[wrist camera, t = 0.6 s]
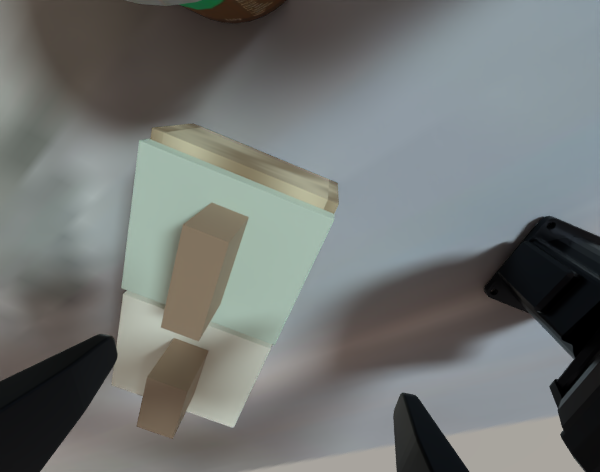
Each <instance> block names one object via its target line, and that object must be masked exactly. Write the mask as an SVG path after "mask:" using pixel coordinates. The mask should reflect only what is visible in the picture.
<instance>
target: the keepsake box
mask: <svg viewBox="0 0 600 472" xmlns="http://www.w3.org/2000/svg"><path fill="white" fill-rule="evenodd" d="M151 140H153V141H156V142H158V143H161V144H163V145H166V146H168V147H171V148H173V149H176V150H178V151H180V152H183V153H185V154H188V155H190V156H193V157H195V158H198V159H200V160H203V161H205V162H208V163H210V164H212V165H215V166H217V167H220V168H222V169H225V170H227V171H230V172H232V173H235V174H237V175H240V176H242V177H245V178H247V179H249V180H252V181H254V182H257V183H259V184H262V185H264V186H267V187H269V188H272V189H274V190H277V191H279V192H281V193H284V194H286V195H289V196H291V197H294V198H296V199H299V200H301V201H304V202H306V203H309V204H311V205H313V206H316V207H318V208H321V209H323V210H326V211H328V212H331V213H333V214H334V213H335V211H336V209H337V207H338V204H339V200H338V183H336V182H334V181H331V180H329V179H326V178H324V177H322V176H319V175H317V174H314V173H312V172H309V171H307V170H305V169H302V168H300V167H297V166H295V165H292V164H290V163H288V162H285V161H283V160H280V159H278V158H275V157H273V156H271V155H268V154H266V153H263V152H261V151H259V150H256V149H254V148H251V147H249V146H246V145H244V144H242V143H239V142H237V141H234V140H232V139H229V138H227V137H225V136H222V135H220V134H217V133H215V132H213V131H210V130H208V129H205V128H203V127H200V126H198V125H196V124H184V125H174V126H164V127H155V128H152V132H151ZM271 347H272V346H271Z"/></svg>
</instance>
